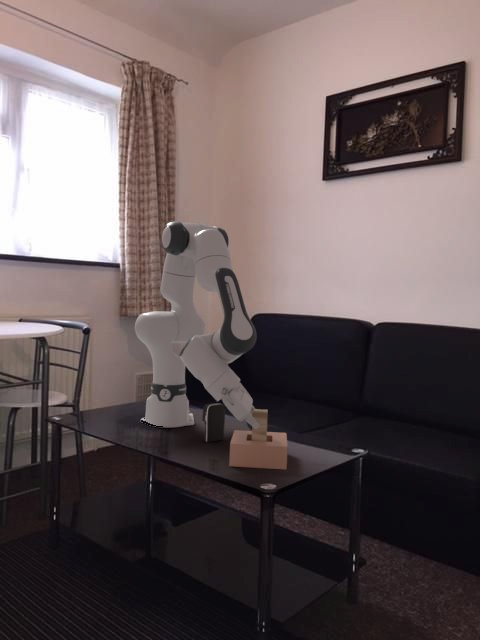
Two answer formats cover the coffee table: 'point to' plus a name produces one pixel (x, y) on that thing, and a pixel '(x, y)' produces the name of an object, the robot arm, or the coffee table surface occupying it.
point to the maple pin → (261, 432)
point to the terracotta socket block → (258, 450)
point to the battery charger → (214, 421)
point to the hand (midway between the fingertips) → (258, 423)
